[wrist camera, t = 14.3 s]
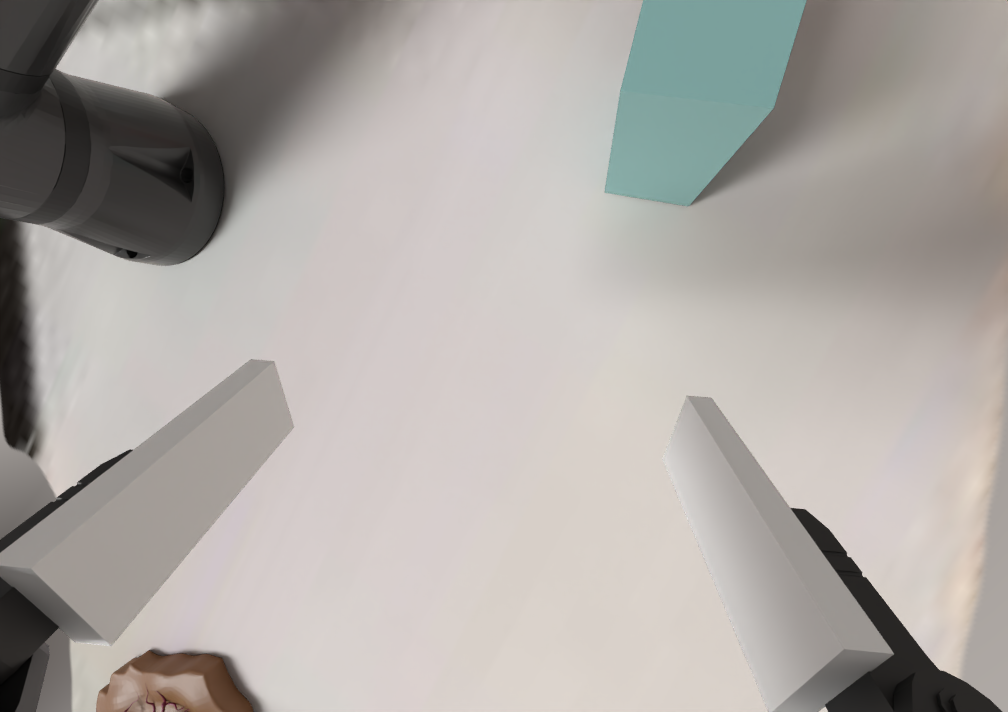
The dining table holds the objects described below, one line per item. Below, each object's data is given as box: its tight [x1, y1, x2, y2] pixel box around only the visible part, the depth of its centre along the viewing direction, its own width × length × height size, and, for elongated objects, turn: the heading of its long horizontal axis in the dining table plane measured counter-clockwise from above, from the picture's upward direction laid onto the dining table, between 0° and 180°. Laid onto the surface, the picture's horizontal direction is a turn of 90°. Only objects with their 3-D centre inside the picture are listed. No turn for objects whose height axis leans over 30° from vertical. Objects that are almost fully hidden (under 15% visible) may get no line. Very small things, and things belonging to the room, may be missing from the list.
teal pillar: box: [605, 0, 807, 206], centre depth 20 cm, size 8×6×12 cm
